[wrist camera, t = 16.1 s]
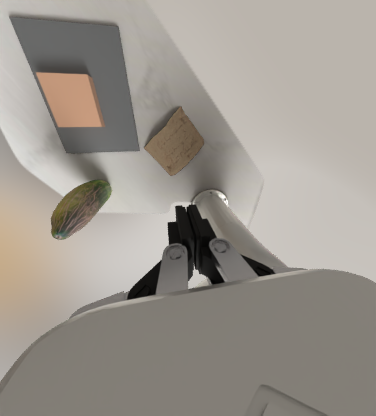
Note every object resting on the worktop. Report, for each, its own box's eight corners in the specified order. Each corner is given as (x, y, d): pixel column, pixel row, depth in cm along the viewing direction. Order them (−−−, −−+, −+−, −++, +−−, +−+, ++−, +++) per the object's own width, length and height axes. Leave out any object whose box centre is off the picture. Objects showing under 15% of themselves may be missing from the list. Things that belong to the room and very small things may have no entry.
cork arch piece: (181, 103, 32) (182, 101, 29) (208, 139, 36) (211, 140, 34) (140, 151, 35) (139, 152, 33) (170, 178, 40) (170, 181, 38)
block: (101, 126, 29) (58, 127, 27) (105, 126, 30) (64, 127, 29) (87, 74, 25) (35, 72, 23) (92, 78, 26) (44, 76, 25)
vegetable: (89, 192, 37) (28, 246, 20) (89, 169, 35) (19, 210, 18) (113, 197, 39) (77, 250, 22) (115, 176, 36) (75, 218, 19)
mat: (139, 150, 34) (139, 150, 34) (68, 152, 32) (66, 153, 32) (118, 28, 24) (117, 26, 24) (12, 19, 22) (9, 16, 22)
